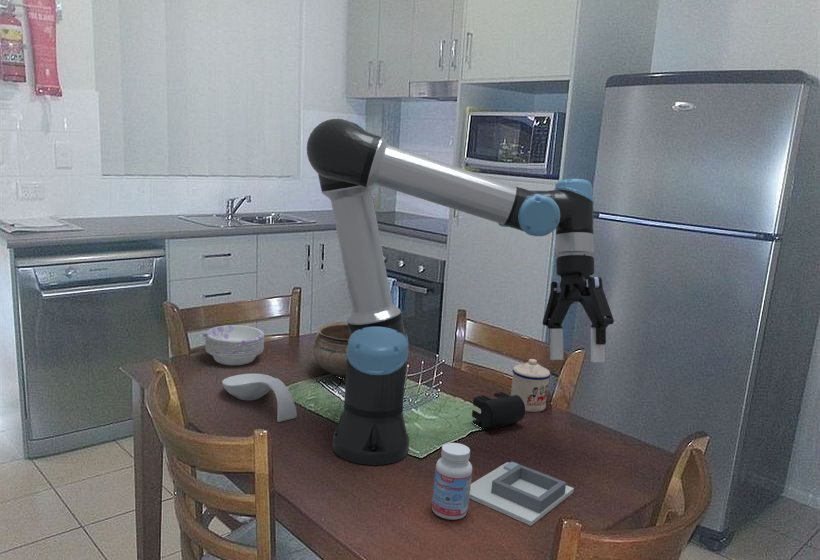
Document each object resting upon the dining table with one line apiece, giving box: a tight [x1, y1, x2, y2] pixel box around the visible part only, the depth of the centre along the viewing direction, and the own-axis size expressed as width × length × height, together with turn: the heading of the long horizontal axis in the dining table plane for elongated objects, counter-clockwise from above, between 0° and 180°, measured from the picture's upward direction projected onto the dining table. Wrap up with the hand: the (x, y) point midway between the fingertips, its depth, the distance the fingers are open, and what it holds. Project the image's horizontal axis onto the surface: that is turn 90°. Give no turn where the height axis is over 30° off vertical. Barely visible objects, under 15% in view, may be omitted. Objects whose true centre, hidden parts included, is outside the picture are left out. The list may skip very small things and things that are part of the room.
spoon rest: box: [221, 373, 298, 423], centre depth 151 cm, size 24×12×7 cm, turn 42°
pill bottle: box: [431, 442, 473, 521], centre depth 110 cm, size 6×6×11 cm
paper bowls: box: [204, 324, 265, 366], centre depth 179 cm, size 15×15×8 cm
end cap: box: [471, 391, 526, 431], centre depth 149 cm, size 10×7×7 cm
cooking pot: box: [312, 321, 350, 379], centre depth 173 cm, size 25×19×12 cm
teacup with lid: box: [510, 358, 552, 413], centre depth 163 cm, size 12×9×12 cm
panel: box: [469, 461, 575, 527], centre depth 119 cm, size 14×16×3 cm
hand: (576, 361), depth 134 cm, fingers open, 13 cm apart
